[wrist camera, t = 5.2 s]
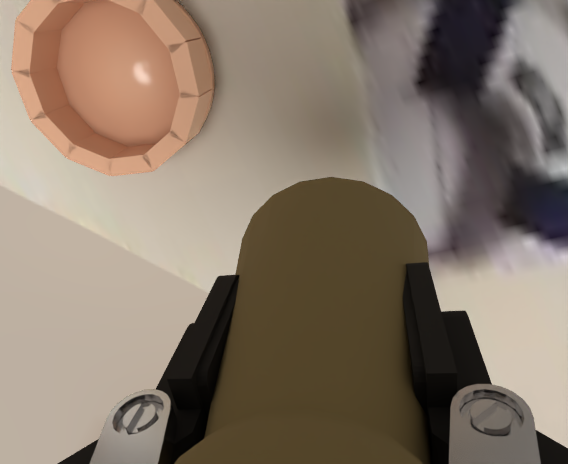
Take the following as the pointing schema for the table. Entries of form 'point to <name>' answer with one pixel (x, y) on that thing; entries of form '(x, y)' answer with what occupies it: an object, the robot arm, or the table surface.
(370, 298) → the cork
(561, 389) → the table surface
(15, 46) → the copper faceted bowl
